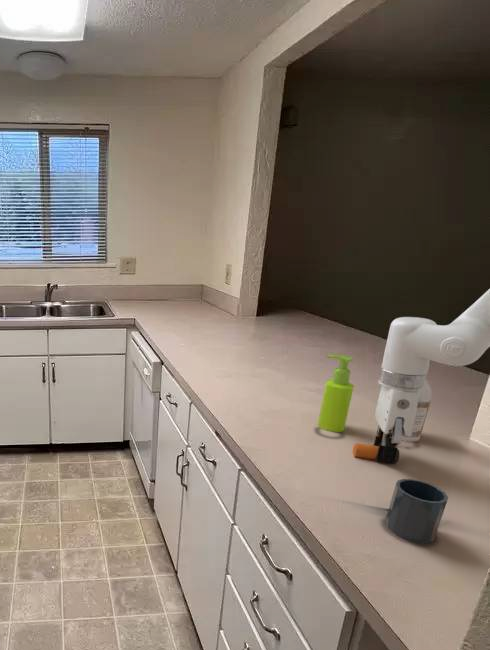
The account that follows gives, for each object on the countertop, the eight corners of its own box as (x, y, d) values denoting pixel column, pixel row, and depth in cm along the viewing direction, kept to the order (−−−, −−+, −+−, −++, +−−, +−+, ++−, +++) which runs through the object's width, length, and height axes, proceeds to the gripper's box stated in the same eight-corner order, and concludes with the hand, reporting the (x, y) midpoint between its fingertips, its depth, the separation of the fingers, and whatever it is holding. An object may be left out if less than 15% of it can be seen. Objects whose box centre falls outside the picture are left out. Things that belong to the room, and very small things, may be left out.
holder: (427, 521, 77) (439, 483, 75) (440, 547, 71) (454, 507, 69) (381, 512, 80) (391, 475, 77) (390, 536, 74) (402, 497, 71)
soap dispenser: (319, 423, 115) (334, 351, 108) (347, 432, 110) (364, 357, 103) (308, 429, 112) (322, 355, 105) (336, 439, 107) (352, 362, 100)
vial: (354, 458, 95) (357, 446, 95) (352, 453, 98) (354, 441, 97) (397, 464, 93) (400, 452, 92) (394, 459, 95) (396, 446, 94)
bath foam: (394, 446, 103) (416, 367, 96) (377, 433, 109) (396, 357, 103) (424, 447, 103) (448, 367, 96) (405, 433, 109) (427, 358, 102)
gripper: (437, 394, 80) (414, 480, 86) (411, 368, 94) (393, 443, 100) (389, 389, 83) (370, 473, 89) (371, 365, 97) (356, 438, 103)
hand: (382, 456), depth 95 cm, fingers closed on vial, 3 cm apart
